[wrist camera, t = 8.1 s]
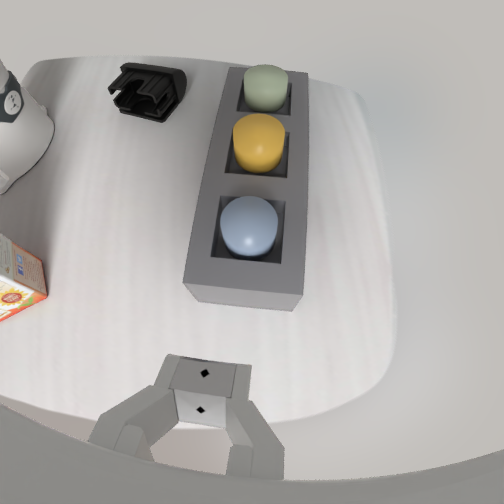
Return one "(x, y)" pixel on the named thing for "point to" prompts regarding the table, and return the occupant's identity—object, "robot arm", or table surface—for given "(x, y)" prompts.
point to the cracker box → (19, 279)
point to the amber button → (258, 142)
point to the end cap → (148, 90)
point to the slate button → (249, 228)
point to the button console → (259, 185)
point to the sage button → (265, 88)
